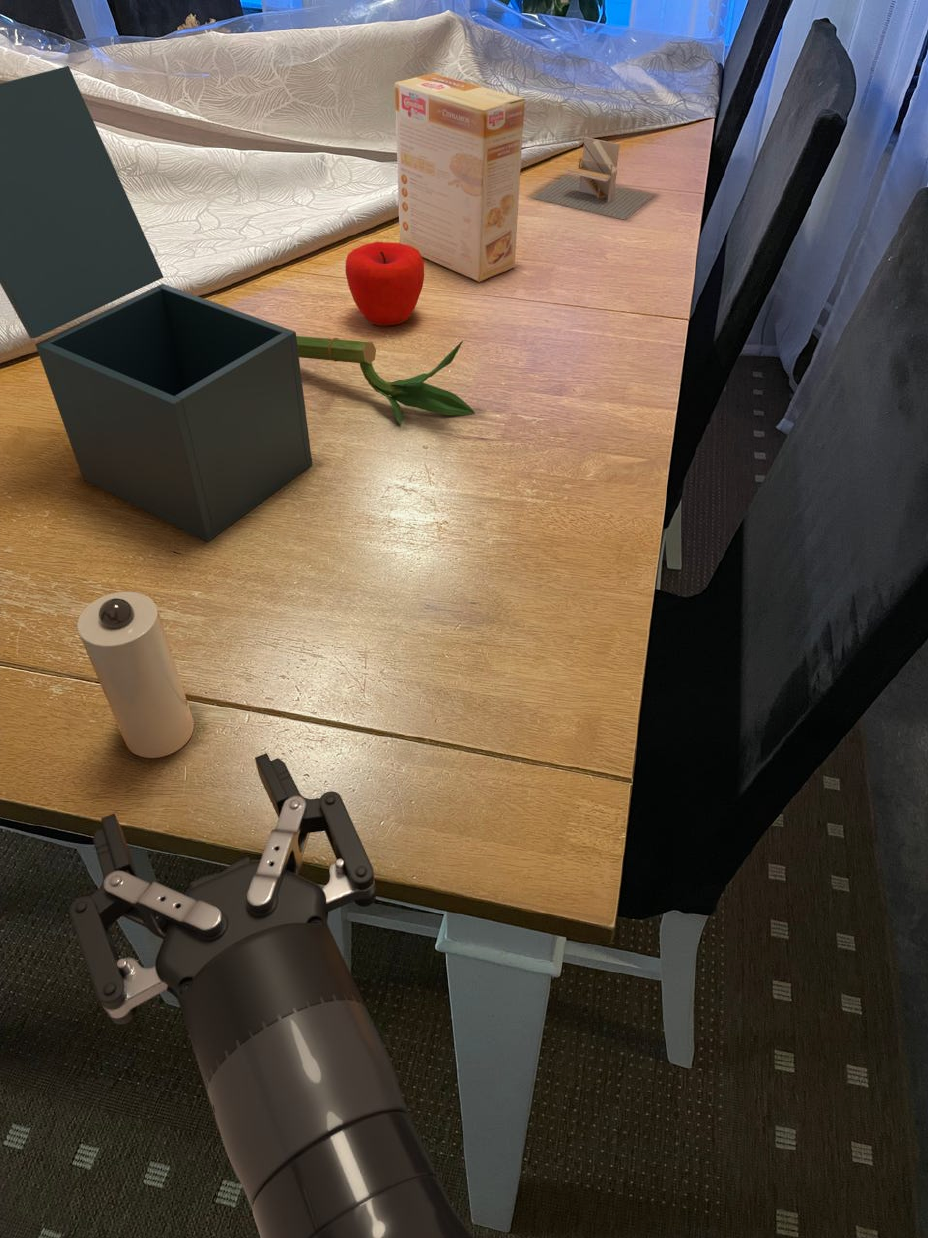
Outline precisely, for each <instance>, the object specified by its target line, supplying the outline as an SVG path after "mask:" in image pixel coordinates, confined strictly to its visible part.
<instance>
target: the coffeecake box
mask: <svg viewBox="0 0 928 1238" xmlns="http://www.w3.org/2000/svg"><path fill="white" fill-rule="evenodd" d="M394 98H395V100H394V103H395V133H396V135H395V136H396V161H397V162H396V164H397V165H396V167H397V169H396V170H397V191H398V192H397V196H398V197H397V198H398V199H397V200H398V201H397V202H398V228H399V231H398V232H399V243H400V244H405V245H409V246H412V247H414V248H415V249H417V250H418V251H419V253H420V255H421V257H422V258H424V259H426V260H429V261H431V262H433V263H436V264H438V265H440V266H443V267H445V268H447V269H449V270H451V271H454V272H456V273H458V274H459V275H463V276H464V277H467V278H469V279H472V280H474V281H476V282H478V283H480V282H483V281H485V280H487V279H489V278H491V277H495V276H497V275H499V274H502V273H505V272H508V271H509V270H511V269H514V268H516V253H517V252H516V251H517V250H516V249H517V232H518V216H519V199H520V186H521V185H520V183H521V169H522V168H521V167H522V154H523V153H522V151H523V133H524V121H525V120H524V119H525V102H526V98H525V97H521V96H517V95H514V94H511V93H506V92H503V91H498V90H495V89H492V88H489V87H485V86H482V85H478V84H474V83H471V82H467V81H464V80H460V79H457V78H454V77H450V76H446V75H443V74H440V73H436V72H434V73H427V74H423V75H419V76H415V77H413V78H408V79H403V80H399V81H395V82H394Z"/></svg>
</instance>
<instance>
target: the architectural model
mask: <svg viewBox="0 0 928 1238" xmlns="http://www.w3.org/2000/svg"><path fill="white" fill-rule="evenodd" d="M583 138H584V139H583V142H582V144H583V147H582V157H579V160H578V163H572V164H570V165H569V166H567V167H565V169H564V170H563V171H564V173H566V174H571V175H574V176H579V178H578V177H572V176H569V175H564V176H562V177H561V178H560V179H558V180H556V181H555V182H554V183H552V184H551V185H548V187H546V188H545V189H543V190H542V191H540V192H538V193H537V194H536V195H534V196H532V199H535V200H537V201H543V202H547V203H552V204H555V205H560V206H564V207H569V208H573V209H578V210H580V211H585V212H590V213H594V214H598V215H603V216H607V217H611V218H615V219H620V220H624V221H625V220H626V219H628V218H629V217H630V216H631V215H633V214H634V213H635V212H637V211H638V210H639V209H640V208H641V207H643V206H644V205H645V204H646V203H648V202H649V201H650V200H651V199H653V198H654V197H655V195H654V194H652V193H651V194H650V193H646V192H641V191H638V190H637V191H636V190H632V189H629V188H628V189H627V188H625V187H619V186H616V183H617V182H616V181H617V174H618V161H619V152H620V144H621V143H617V142H611V141H607V140H602V139H596V138H592V137H586V136H585V137H583Z"/></svg>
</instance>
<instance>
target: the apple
mask: <svg viewBox="0 0 928 1238" xmlns="http://www.w3.org/2000/svg"><path fill="white" fill-rule="evenodd" d="M344 271H345V277H346V281H347V286H348V289H349V292H350V295H351V297H352V300H353V302H354V303H355V305H356V308H357V309H358V310H359V312H360V313H361V314H362V316H363V317H364V318H365V319H366V320H367V321H369V322H370V323H372V324H373V325H377V326H386V327H388V326H396V325H398V324H402V323H403V322H406V321H408V320H409V318H410V316H411V315H412V314H413V311H414V310H415V309H416V307H417V303H418V301H419V298H420V295H421V292H422V289H423V287H424V280H425V261H424V259H423V257H422V256H421V255H420V253H419V251H418V250H417V249H415V248H414V247H412V246H409V245H405V244H400V242H391V241H389V242H387V241H374V242H370V243H366V244H362V245H360V246H359V247H356V248H354V249H352V250H351V251H349V253H348V254H347V257H346V259H345V269H344Z"/></svg>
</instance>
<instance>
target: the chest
mask: <svg viewBox="0 0 928 1238" xmlns="http://www.w3.org/2000/svg"><path fill="white" fill-rule="evenodd" d="M296 336H297V332H296V331H295V330H292V329H289V328H286V327H284V326H281V325H278V324H275V323H273V322H270V321H267V320H265V319H263V318H258V317H257V316H253V315H250V314H248V313H245V312H242V311H239V310H237V309H233V308H231V307H228V306H226V305H222V304H221V303H217V302H214V301H212V300H209V299H206V298H203V297H201V296H198V295H196V294H192V293H189V292H188V291H184V290H181V289H179V288H176V287H173V286H170V285H168V284H165V283H161V284H159V285H157V286H155V287H152V288H150V289H148V290H146V291H144V292H141V293H140V294H137V295H135V296H133V297H131V298H129V299H127V300H125V301H123V302H121V303H118V304H116V305H114V306H113V307H110V308H108V309H106V310H104V311H102V312H100V313H98V314H95V315H94V316H92V317H89V318H87V319H85V320H83V321H81V322H78V323H76V324H74V325H73V326H71V327H69V328H66V329H64V330H62V331H60V332H58V333H56V334H54V335H52V336H49V337H48V338H45V339H44V340H41V341H39V342H36V343H35V344H34V345H35V348H36V350H37V353H38V356H39V359H40V361H41V365H42V367H43V370H44V373H45V376H46V379H47V382H48V384H49V387H50V390H51V393H52V395H53V398H54V402H55V404H56V407H57V409H58V413H59V415H60V418H61V421H62V424H63V426H64V429H65V433H66V435H67V438H68V440H69V443H70V446H71V449H72V452H73V454H74V458H75V461H76V463H77V466H78V469H79V472H80V474H81V477H82V479H83V480H84V481H86V482H87V483H90V484H91V485H94V486H95V487H98V488H99V489H101V490H103V491H105V492H107V493H110V494H111V495H113V496H115V497H117V498H120V499H122V501H123V500H124V501H125V502H127V503H129V504H131V505H133V506H135V507H137V508H138V509H139V508H140V509H141V510H143V511H145V512H147V513H149V514H151V515H153V516H154V517H157V518H159V519H161V520H162V521H165V522H167V523H169V524H171V525H173V526H175V527H177V528H179V529H181V530H183V531H185V532H186V533H188V534H190V535H193V536H195V537H196V538H199V539H201V540H203V541H205V542H207V543H209V542H210V541H212V540H213V539H214V538H216V537H217V536H218V535H220V534H221V533H223V532H224V531H226V530H227V529H228V528H229V527H230V526H232V525H233V524H234V523H236V522H237V521H239V520H240V519H241V518H243V517H244V516H246V515H247V514H248V513H249V512H251V511H252V510H253V509H255V508H256V507H257V506H260V504H261V503H263V502H264V501H266V500H267V499H268V498H269V497H271V496H272V495H273V494H275V493H276V492H278V491H280V489H282V488H283V487H284V486H286V485H287V484H288V483H290V482H291V481H292V480H294V479H296V478H297V477H298V476H299V475H300V474H302V473H303V472H305V471H306V470H307V469H308V468H311V466H313V458H312V450H311V443H310V435H309V427H308V421H307V420H308V418H307V412H306V403H305V396H304V395H305V394H304V387H303V379H302V372H301V363H300V362H301V361H300V357H299V354H298V347H297V339H296Z"/></svg>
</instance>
